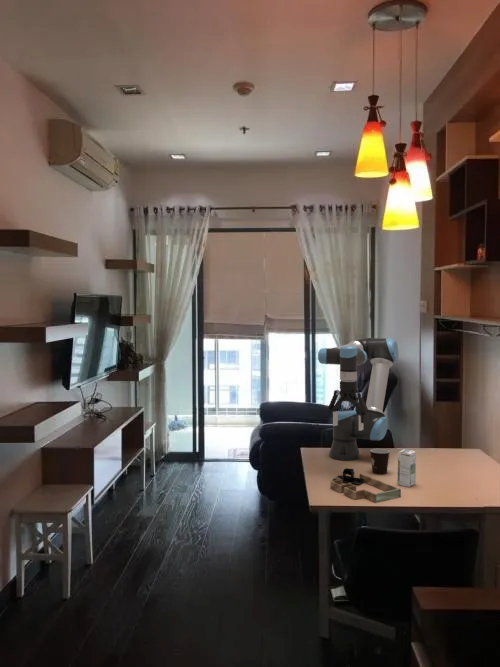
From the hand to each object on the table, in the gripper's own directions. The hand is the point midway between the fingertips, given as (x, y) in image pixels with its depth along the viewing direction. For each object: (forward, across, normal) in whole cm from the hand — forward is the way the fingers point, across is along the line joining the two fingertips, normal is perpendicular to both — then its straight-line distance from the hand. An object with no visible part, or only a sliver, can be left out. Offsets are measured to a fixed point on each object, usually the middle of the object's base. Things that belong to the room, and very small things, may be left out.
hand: (347, 427), depth 242 cm
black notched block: (+24, +5, -6) cm, 25 cm away
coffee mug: (+22, +7, +16) cm, 28 cm away
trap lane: (+22, +17, -11) cm, 30 cm away
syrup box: (+22, +25, +7) cm, 34 cm away
